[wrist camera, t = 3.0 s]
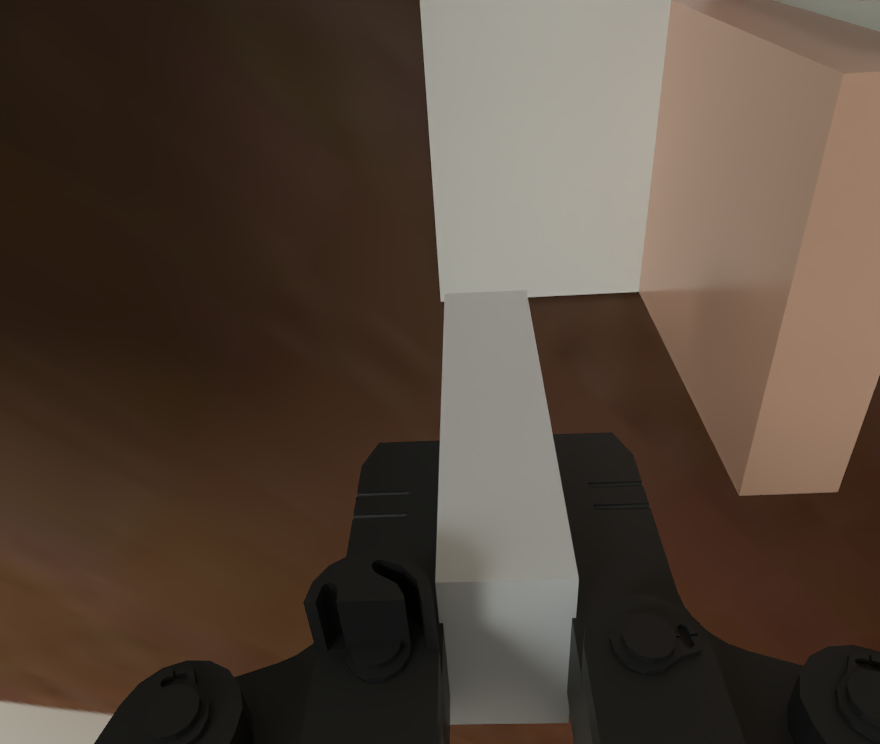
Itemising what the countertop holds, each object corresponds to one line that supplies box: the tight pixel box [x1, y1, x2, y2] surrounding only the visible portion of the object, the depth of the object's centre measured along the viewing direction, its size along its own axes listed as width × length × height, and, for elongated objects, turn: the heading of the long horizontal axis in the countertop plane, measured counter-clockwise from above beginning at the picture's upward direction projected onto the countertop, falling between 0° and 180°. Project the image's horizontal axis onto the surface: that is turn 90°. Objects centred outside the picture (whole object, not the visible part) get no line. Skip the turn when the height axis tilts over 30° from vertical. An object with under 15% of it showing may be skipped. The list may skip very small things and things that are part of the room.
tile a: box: [639, 0, 880, 496], centre depth 17 cm, size 2×9×10 cm, turn 4°
